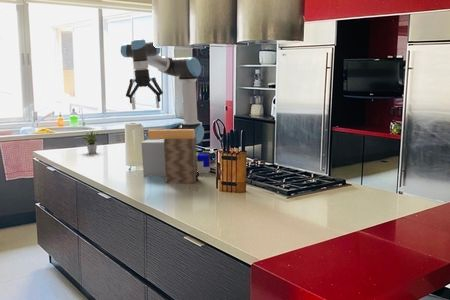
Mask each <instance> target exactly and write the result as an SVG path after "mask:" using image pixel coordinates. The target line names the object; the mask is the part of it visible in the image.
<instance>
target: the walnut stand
mask: <svg viewBox="0 0 450 300" xmlns="http://www.w3.org/2000/svg"><path fill="white" fill-rule="evenodd" d="M163 140H164V151H165V169H166V176H165V181H166V183H167V184H194V183H196V181H197V180H196V175H197V176H198V173H197V155H196V152H197V144H196V137H195V138H194V139H163Z"/></svg>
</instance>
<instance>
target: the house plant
mask: <svg viewBox="0 0 450 300" xmlns="http://www.w3.org/2000/svg"><path fill="white" fill-rule="evenodd" d="M93 131H94V130H92V131H91V130H90V131H89V132H90V133H89V132H87V131H86V132H83V134H84V133H85V134H84V136H83V135H82V136H80V137H81V138H83V139H82V142H83V141H84V140H85V141H86V142H87V144H86V147H87V153H89V154H95V153H97V147H98V144H97V143H96V142H97V141H98V140H99V138H98V137H97V136H98V135H99V133H101V132H102V130H100V131H97V132H93ZM85 136H86V137H85ZM96 137H97V138H96Z"/></svg>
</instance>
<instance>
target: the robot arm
mask: <svg viewBox="0 0 450 300" xmlns="http://www.w3.org/2000/svg"><path fill="white" fill-rule="evenodd" d="M153 42H154V41H150V42H146V40H145V39H144V38H143V39H133V40H131V42H129V43H122V45H121V47H120V54H121V56H122V57H123V58H132V59H133V60H132V63H133V69H134V76H135V77H134V78H131V79H129V85H128V87H127V91H126V93H125V97H126V98H129V103H130V104H131V107H132V108H131V109H132V110H136V101H135V97H134V95H135V94H136V93H137V90H138V89H139V88H143V87H144V88H146V87H147V88H149V89H150V90H151V91H152V92H153V93H154V94H155V105H156V109H159V108H160V102H161V96H162V95H163V94H164V91H163V90H162V88H161V87H160V86H159V84H158V82H157V80H156V77H151V78H150V73H149V72H150V69H148V68H149V66H150V67H153V68H155V69H157V70H158V71H159V72H161V73H162V74H166V75H168V76H171V77H178V80H179V81H180V82H181V92H182V93H181V95H182V109H183V121H182V122H181V121H180V122H173V123H167V124H165V125H164V126H163V129H194V130H195V137H196V145H198V144H200V143H201V142H202V141H203V139H204V135H205V127H204V126H202V125H201V122H200V121H199V120H198V107H197V105H198V104H197V101H198V100H197V87H196V85H197V83H196V82H197V80H198V77H199V76H200V75H201V73H202V66H201V63H200V61H199V60H198V58H196V57H195V56H194V57H191V56H187V57H184V56H183V57H167V56H161V55H159V54H160V53H161V47H160V48H155V47H154V46H153ZM150 82H152V83H153V85H154V86H153V85H152V83H150ZM135 83H136V85H135V86H134V88H133V85H134V84H135Z"/></svg>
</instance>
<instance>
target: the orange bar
mask: <svg viewBox="0 0 450 300" xmlns="http://www.w3.org/2000/svg"><path fill="white" fill-rule="evenodd" d="M194 138H195V130H194V129H164V128H163V129H148V131H147V140H164V139H194Z"/></svg>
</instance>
